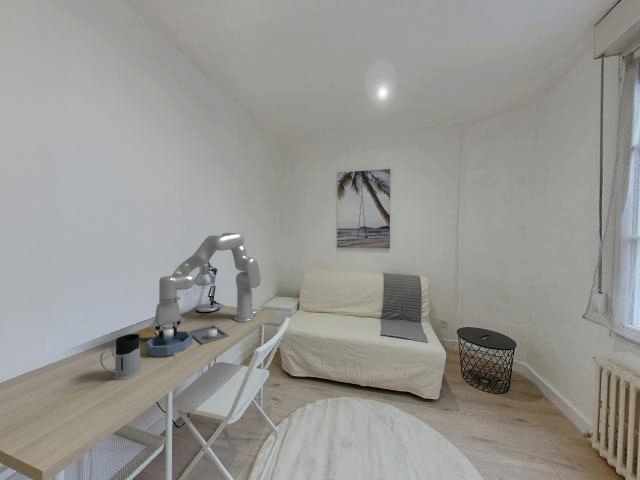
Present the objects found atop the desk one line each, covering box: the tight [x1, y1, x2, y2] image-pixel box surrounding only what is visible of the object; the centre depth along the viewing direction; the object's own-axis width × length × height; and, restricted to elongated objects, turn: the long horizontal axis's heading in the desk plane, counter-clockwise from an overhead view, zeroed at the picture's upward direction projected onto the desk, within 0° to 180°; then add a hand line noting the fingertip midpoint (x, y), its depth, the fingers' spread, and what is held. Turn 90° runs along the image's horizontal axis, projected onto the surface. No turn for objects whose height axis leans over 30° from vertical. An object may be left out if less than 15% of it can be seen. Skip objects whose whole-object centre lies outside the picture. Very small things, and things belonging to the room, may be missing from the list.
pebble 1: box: [163, 327, 174, 339], centre depth 125 cm, size 5×5×4 cm
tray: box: [188, 324, 229, 345], centre depth 137 cm, size 14×19×2 cm
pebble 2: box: [207, 329, 217, 340], centre depth 134 cm, size 5×5×4 cm
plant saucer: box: [135, 326, 167, 341], centre depth 136 cm, size 15×15×3 cm
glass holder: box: [99, 333, 142, 381], centre depth 98 cm, size 9×14×15 cm, turn 164°
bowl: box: [146, 330, 193, 358], centre depth 123 cm, size 18×18×5 cm
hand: (167, 336), depth 125 cm, fingers closed on pebble 1, 4 cm apart
